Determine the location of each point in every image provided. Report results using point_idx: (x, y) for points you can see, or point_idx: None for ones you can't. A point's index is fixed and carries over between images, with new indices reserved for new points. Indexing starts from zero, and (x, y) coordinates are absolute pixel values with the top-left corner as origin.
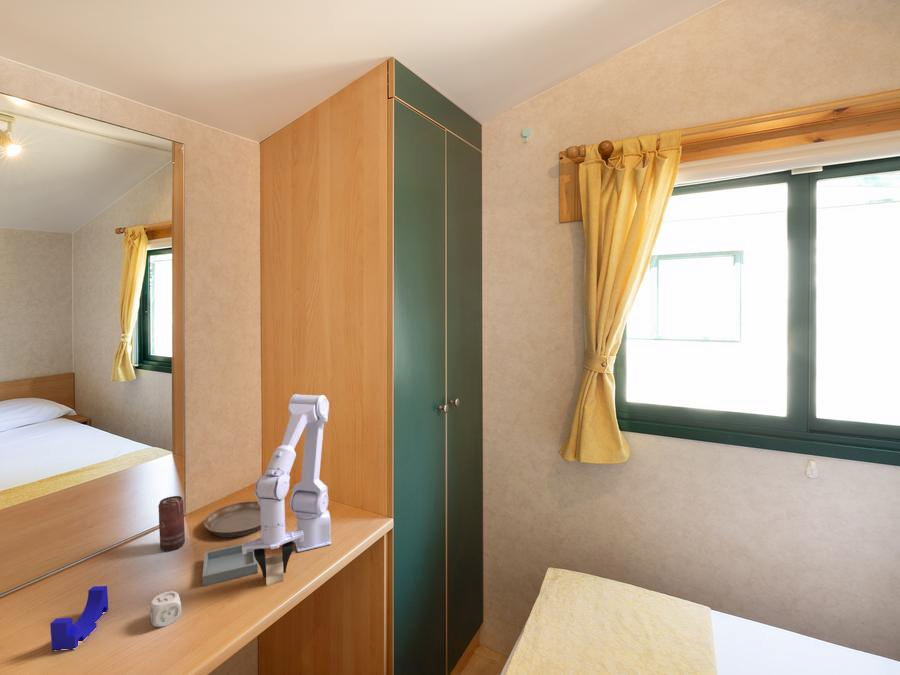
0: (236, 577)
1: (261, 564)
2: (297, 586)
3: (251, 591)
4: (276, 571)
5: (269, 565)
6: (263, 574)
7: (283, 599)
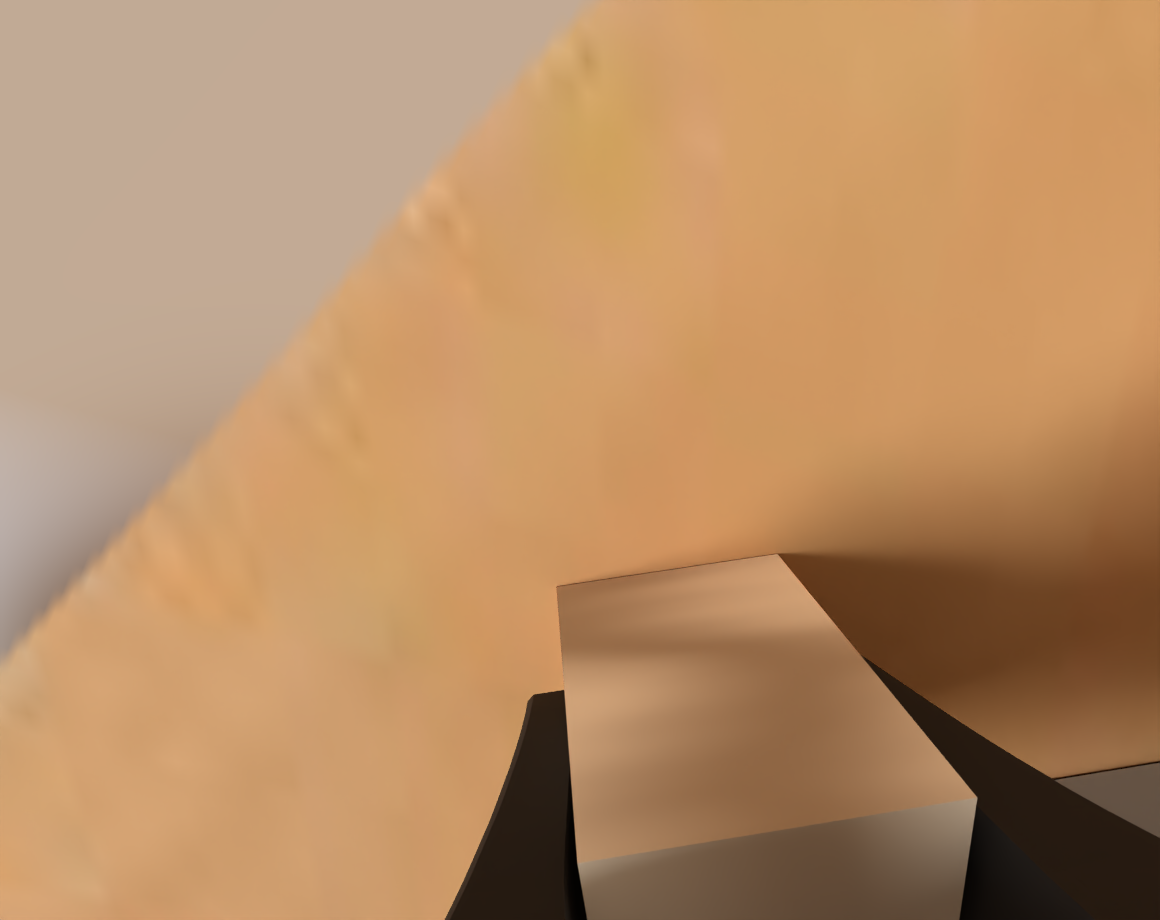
0: (1080, 783)
1: (1138, 853)
2: (338, 397)
3: (970, 482)
4: (689, 692)
5: (900, 807)
6: (893, 682)
7: (541, 93)
